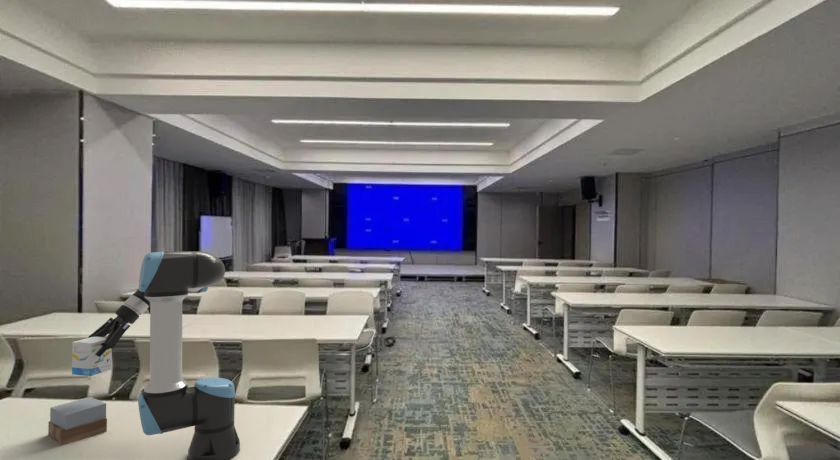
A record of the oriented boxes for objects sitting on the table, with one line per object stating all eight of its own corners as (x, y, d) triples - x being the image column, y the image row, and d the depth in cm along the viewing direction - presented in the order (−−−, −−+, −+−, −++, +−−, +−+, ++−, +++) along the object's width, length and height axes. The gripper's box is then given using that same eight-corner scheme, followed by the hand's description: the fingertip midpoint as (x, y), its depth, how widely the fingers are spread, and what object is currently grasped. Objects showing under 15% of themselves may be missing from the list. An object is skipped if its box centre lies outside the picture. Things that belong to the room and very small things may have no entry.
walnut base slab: (106, 432, 159) (106, 418, 159) (61, 446, 149) (61, 431, 149) (92, 423, 167) (92, 409, 167) (48, 436, 156) (48, 421, 156)
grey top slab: (106, 417, 160) (106, 403, 160) (66, 430, 150) (66, 414, 150) (89, 410, 166) (89, 396, 166) (50, 422, 156) (50, 407, 156)
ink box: (90, 376, 156) (90, 343, 156) (71, 374, 158) (71, 341, 158) (112, 369, 164) (112, 337, 164) (93, 367, 166) (93, 335, 166)
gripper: (152, 319, 166) (103, 372, 154) (126, 312, 180) (80, 360, 168) (136, 307, 162) (85, 360, 150) (111, 301, 176) (62, 349, 164)
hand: (82, 360), depth 159 cm, fingers closed on ink box, 11 cm apart
